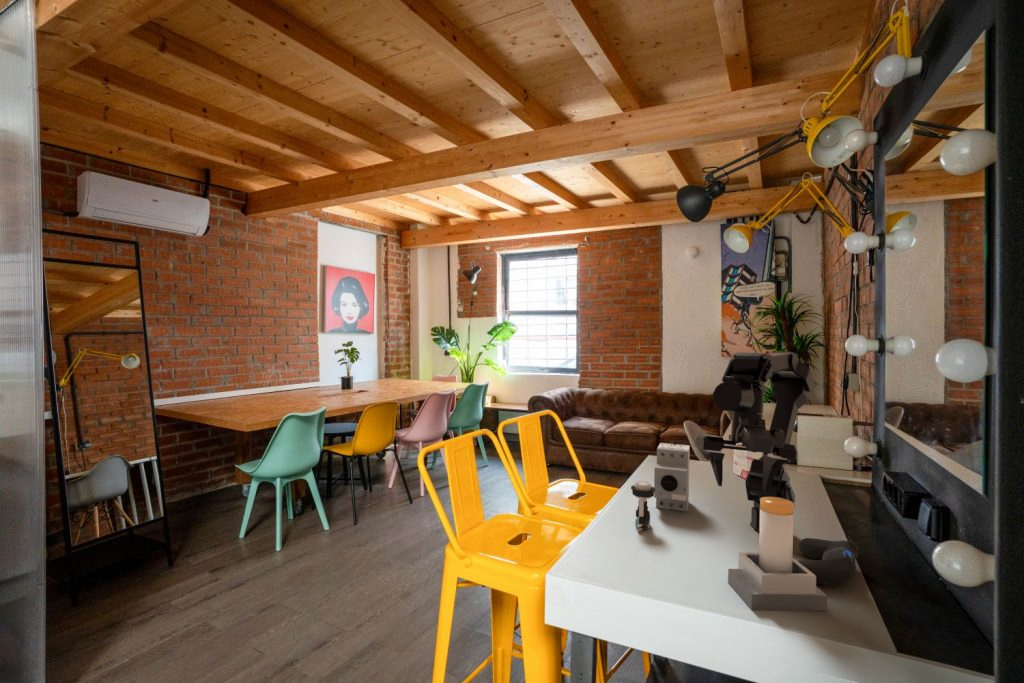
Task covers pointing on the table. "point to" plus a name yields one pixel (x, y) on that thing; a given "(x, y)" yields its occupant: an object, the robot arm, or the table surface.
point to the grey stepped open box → (776, 587)
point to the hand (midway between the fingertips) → (742, 488)
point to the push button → (642, 503)
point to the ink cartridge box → (744, 461)
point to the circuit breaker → (672, 476)
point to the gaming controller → (829, 559)
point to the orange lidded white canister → (776, 535)
